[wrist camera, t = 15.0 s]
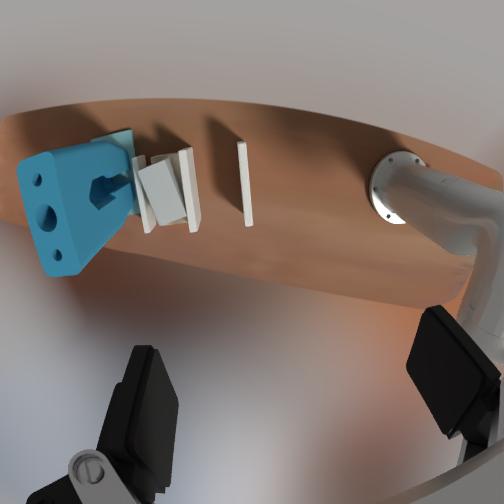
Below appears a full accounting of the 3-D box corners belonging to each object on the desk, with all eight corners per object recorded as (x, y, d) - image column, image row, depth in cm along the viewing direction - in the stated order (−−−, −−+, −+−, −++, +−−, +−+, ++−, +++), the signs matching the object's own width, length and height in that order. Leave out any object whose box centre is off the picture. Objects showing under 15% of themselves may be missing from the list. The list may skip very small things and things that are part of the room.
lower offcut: (185, 150, 40) (181, 152, 37) (194, 215, 44) (191, 222, 41) (156, 155, 40) (150, 157, 37) (166, 218, 44) (161, 225, 41)
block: (96, 143, 38) (15, 163, 19) (125, 136, 38) (52, 148, 19) (110, 217, 42) (46, 277, 24) (139, 212, 43) (83, 273, 24)
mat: (132, 129, 38) (130, 129, 37) (144, 211, 43) (143, 212, 43) (92, 139, 38) (90, 139, 37) (106, 217, 43) (104, 218, 42)
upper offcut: (169, 157, 37) (164, 159, 35) (189, 209, 41) (186, 216, 38) (143, 168, 38) (137, 171, 35) (164, 219, 41) (159, 225, 38)
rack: (243, 141, 40) (246, 143, 35) (250, 213, 45) (253, 225, 39) (140, 155, 40) (126, 160, 34) (151, 224, 44) (141, 238, 39)
